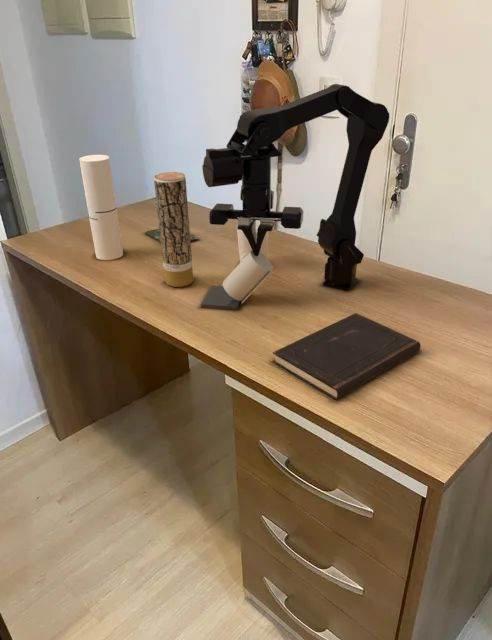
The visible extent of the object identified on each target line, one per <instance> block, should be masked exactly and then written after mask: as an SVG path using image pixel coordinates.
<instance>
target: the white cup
mask: <svg viewBox="0 0 492 640" xmlns="http://www.w3.org/2000/svg"><path fill="white" fill-rule="evenodd" d="M259 225H260V220H256V237H257V230H258V227H259ZM237 226H238V224H237V225H236V227H237ZM269 233H270V231H267V232H266V235H265V237H264V240H263V243H262V246H261V249H260V252H261V253H262V254H263V255H265V256H266V257H267V258H268V253H269V250H268V249H269ZM236 235H237V247H238V255H239V263H240V262H241V261H242V260H243V259H244V258H245V257H246V256H247V254H248V253H249V252H250V251H251V250H252V248H251V246H250V244H249V242H248V240H247V238H246V236H245V235H244V233H243V231H242V230H238V229H237V228H236Z"/></svg>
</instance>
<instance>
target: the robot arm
mask: <svg viewBox="0 0 492 640" xmlns="http://www.w3.org/2000/svg"><path fill="white" fill-rule="evenodd" d="M335 111H337V112H338V113H339V114H341V116H343V117H345V118H346V136H347V142H348V148H347V151H346V152H347V153H346V155H345V160H344V164H343V167H342V172H341V176H340V180H339V184H338V187H337V193H336V196H335V200H334V205H333V208H332V212H331V214H330V215H329V216H328V218H326V219H324V218H321V219H320V222H319V229H318V231H317V232H316V237H317V243H318V245H319V247H320V248H321V249H322V250H323V253H324V255H326V256H327V260H326V263H325V264H324V275H323V277H324V278H323V280H324V281H323V282H322V285H323V286H326V287H329V288H335V289H338V290H344V291H349V290H351V289H352V288H353V287H354V285H356V284H357V283H358V281H359V278H357V268H358V265H360V264H361V263H362V261H363V259H364V256H365V255H364V253H363V252H362V251H361V250H360V249H359V248H358V246H356V238H357V228H356V222H355V215H356V211H357V208H358V205H359V200H360V197H361V193H362V190H363V185H364V182H365V178H366V174H367V171H368V166H369V162H370V159H371V155H372V152H373V150H374V149H375V147H376V146H377V145H378V144H379V143H380V141H381V140H382V139H383V137H384V135H385V132H386V130H387V127H388V125H389V122H390V112H389V111H388V107H386V106H385V104H382V103H379V102H374V101H371V100H370V99H367V98H366V97H364V96H363V95H362V94H359V93H357V92H356V91H355V90H353V89H352V88H351V86H349V85H346V84H345V85H344V84H339V83H333V84H331V85H329V86H328V87H325V88H323V89H321V90H319V91H318V90H317V91H316V92H313V93H311V94H308V95H305V96H303V97H301V98H297V99H295V100H293V101H290V102H287V103H286V104H282V105H280V106H273V107H261V108H256V109H249V110H246V111H244V112H243V113H241V115H239V118H238V121H237V124H236V129H235V130H234V132H233V133H232V135H231V137H230V138H229V141H228V142H227V144H226V147H223V148H206V149H205V156H204V158H203V163H202V165H201V167H202V169H201V170H202V175H203V179H204V183H205V185H206V186H207V187H208V188H215V187H225V186H231V185H237V184H238V183H240V181H241V187H240V195H239V197H240V198H239V199H240V201H242V203H241V204H242V209H234V208H235V207H234V204H233V203H216V204H215V205H214V206H213V207H212V209H211V210H210V211H209V215H208V216H209V217H208V218H209V224H210V225H213V226H214V225H216V226H224V225H226V224H227V223H228V221H229V220H237V225H238V226H237V225H236V230H237V229H238V230H242V231H243V233H244V235H245V236H246V238H247V240H248V242H249V244H250V246H251V248H252V251H253V253H254V255H255V256H258V255H259V253H260V249H261V246H262V243H263V240H264V237H265V235H266V232H267V231H269V232H272V231H273V230H274V227H275V225H276V222H280V225H281V226H282V227H283V228H284V229H293V230H299V229H301V228H302V225H303V222H304V210H303V208H302V207H300V206H284V207H283V209H282V211H273V208H274V197H275V196H274V195H275V191H273V190H272V158H275V157H276V158H277V157H281V156H282V154H283V153H282V152H281V151H280V150H279V149H278V148H277V147H276V146H275V142H277V141H279V140H280V139H281V138H282V137H283V136H284V135H285V134H286V133H287V132H288V131H290V130H291V129H293V128H295V127H299V126H300V125H303V124H306V123H307V122H311V121H312V120H315V119H317V118H320V117H323V116H325V115H327V114H330V113H333V112H335ZM256 221H259V222H260V225H259V227H258V230H257V237H256Z"/></svg>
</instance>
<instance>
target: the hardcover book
mask: <svg viewBox="0 0 492 640" xmlns="http://www.w3.org/2000/svg"><path fill="white" fill-rule="evenodd" d="M421 346H422V345H421V343H420V342H419V340H417V339H415V338H412V337H410V336H408V335H405V334H403V333H401V332H399V331H397V330H394V329H392V328H389V327H388V326H386V325H383V324H381V323H379V322H377V321H375V320H372V319H371V318H368V317H366V316H363V315H361V314H359V313H357V312H355V313H352V314H351V315H348V316H347V317H344V318H342V319H340V320H338V321H336V322H334V323H331V324H329V325H327V326H325V327H323V328H321V329H319V330H316V331H315V332H312V333H310V334H308V335H307V336H304V337H302V338H300V339H298V340H296V341H294V342H292V343H289V344H287V345H285V346H283V347H281V348H278V349H277V350H274V351H272V354H273V355H274V360H272V363H273V364H275V365H276V366H278V367H280V368H282V369H284V370H285V371H287V372H289V374H291V375H293V376H295V377H296V378H298V379H299V380H302V381H303V382H305V383H307V384H308V385H310V386H311V387H313V388H314V389H316V390H317V391H320V392H321V393H323V394H325V395H326V396H327V397H330V398H331V399H333V400H338V399H340V398H342V397H343V396H345V395H347V394H348V393H350V392H352V391H353V390H355V389H357V388H359V387H360V386H362V385H364V384H366V383H367V382H369V381H370V380H372V379H374V378H376V377H378V376H379V375H381V374H383V373H384V372H386V371H388V370H389V369H391V368H393V367H395V366H396V365H398V364H400V363H402V362H403V361H406V360H407V359H408V358H410V357H412V356H413V355H415V354H417V353H419V352H420V351H421Z"/></svg>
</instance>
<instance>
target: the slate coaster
mask: <svg viewBox="0 0 492 640" xmlns="http://www.w3.org/2000/svg"><path fill="white" fill-rule="evenodd" d="M240 303H241V301H238V300H236V299H234V298H232V297H231V296H230V295H229V294H228V293H227V292H226V291H225V289H224V287H223V285H211V286H210V288H209V290H208V291H207V293H206V294H205V296H204V298H203V300H202V301H201V304H200V308H203V309H214V310H215V309H216V310H227V311H229V310H230V311H237V310H238V308H239V305H240Z"/></svg>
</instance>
